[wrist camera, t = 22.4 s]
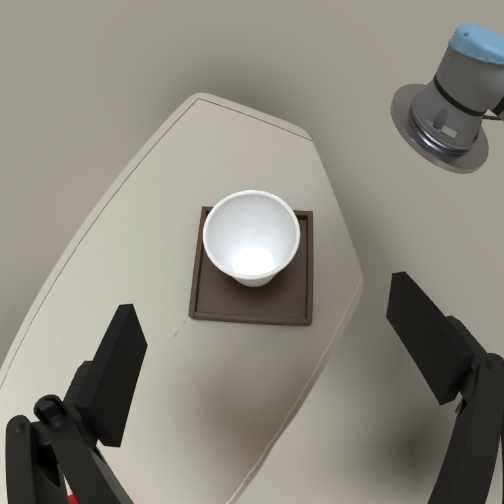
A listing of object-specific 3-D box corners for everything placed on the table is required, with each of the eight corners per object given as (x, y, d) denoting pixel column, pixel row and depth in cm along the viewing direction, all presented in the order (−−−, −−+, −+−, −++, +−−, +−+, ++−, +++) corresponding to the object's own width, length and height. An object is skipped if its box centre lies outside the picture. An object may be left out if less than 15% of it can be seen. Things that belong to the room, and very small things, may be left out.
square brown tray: (310, 217, 45) (312, 211, 43) (309, 325, 40) (312, 323, 38) (204, 213, 46) (202, 206, 44) (191, 318, 41) (188, 316, 39)
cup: (302, 248, 43) (314, 210, 33) (272, 314, 40) (275, 296, 30) (237, 220, 45) (230, 177, 34) (203, 282, 42) (184, 253, 32)
